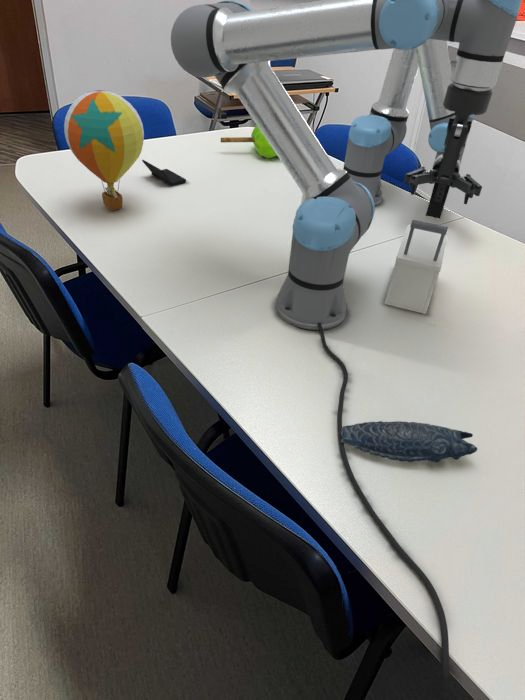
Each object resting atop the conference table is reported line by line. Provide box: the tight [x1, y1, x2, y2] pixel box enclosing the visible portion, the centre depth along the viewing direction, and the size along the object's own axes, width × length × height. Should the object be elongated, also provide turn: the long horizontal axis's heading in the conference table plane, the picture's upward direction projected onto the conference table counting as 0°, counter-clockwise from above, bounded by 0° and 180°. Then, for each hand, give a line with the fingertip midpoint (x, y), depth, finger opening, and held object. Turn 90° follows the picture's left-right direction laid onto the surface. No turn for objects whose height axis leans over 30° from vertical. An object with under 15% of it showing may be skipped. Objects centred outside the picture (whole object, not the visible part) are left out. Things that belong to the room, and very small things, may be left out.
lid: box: [395, 218, 449, 273], centre depth 112 cm, size 18×9×9 cm, turn 160°
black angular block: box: [141, 159, 187, 187], centre depth 162 cm, size 12×7×10 cm
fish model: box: [340, 420, 478, 463], centre depth 82 cm, size 7×21×5 cm, turn 84°
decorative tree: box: [220, 124, 278, 159], centre depth 187 cm, size 18×10×30 cm
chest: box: [384, 261, 440, 315], centre depth 119 cm, size 17×9×11 cm, turn 160°
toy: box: [63, 89, 145, 212], centre depth 136 cm, size 20×20×30 cm
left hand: (436, 203), depth 102 cm, fingers open, 13 cm apart
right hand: (439, 194), depth 135 cm, fingers open, 13 cm apart
